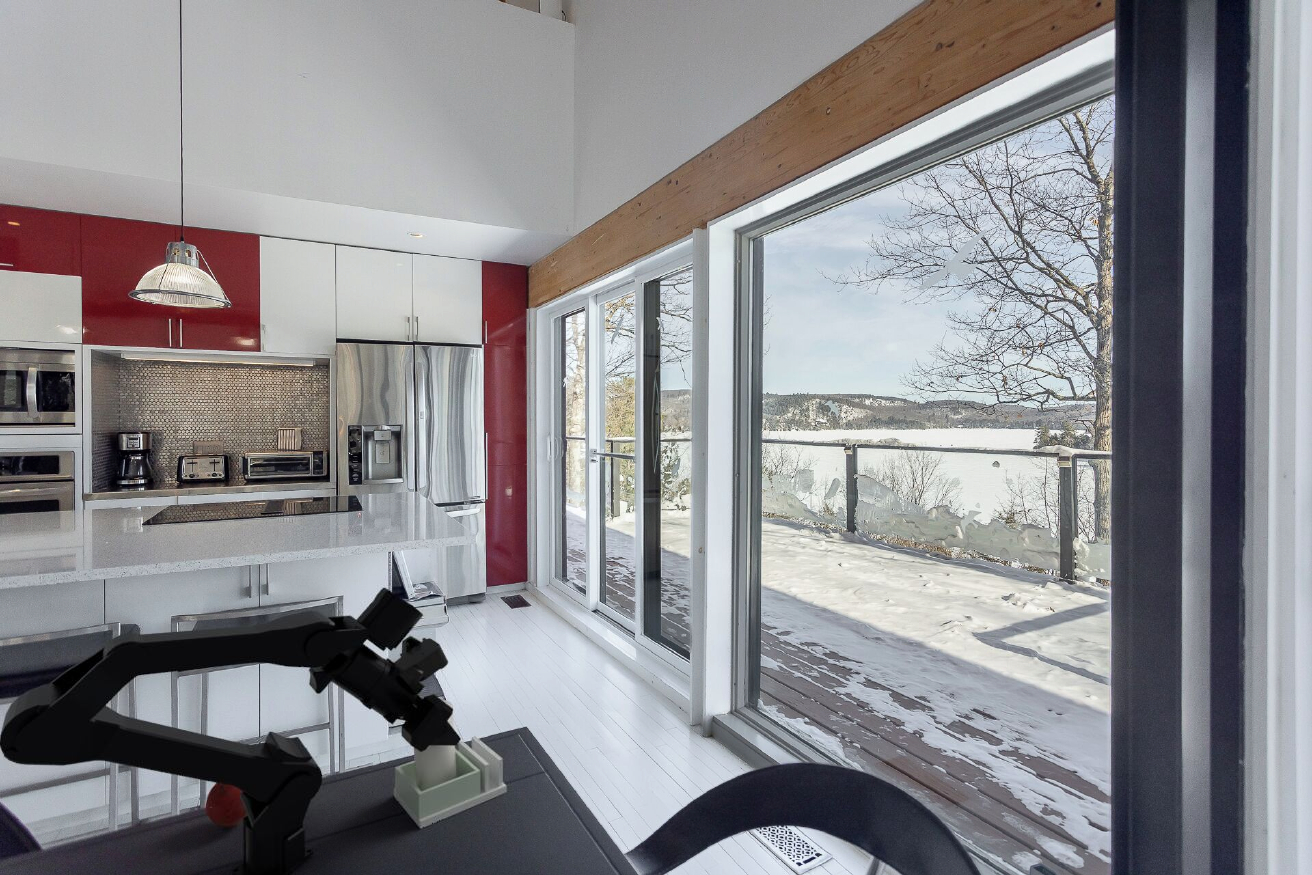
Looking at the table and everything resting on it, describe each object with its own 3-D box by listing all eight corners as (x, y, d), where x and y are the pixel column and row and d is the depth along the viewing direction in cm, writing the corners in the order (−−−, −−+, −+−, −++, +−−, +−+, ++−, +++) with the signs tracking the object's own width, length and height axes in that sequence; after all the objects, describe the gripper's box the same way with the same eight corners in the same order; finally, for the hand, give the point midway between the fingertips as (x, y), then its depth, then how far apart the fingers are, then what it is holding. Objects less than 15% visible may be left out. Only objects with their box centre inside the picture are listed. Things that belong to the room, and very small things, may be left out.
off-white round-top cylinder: (412, 805, 90) (406, 720, 89) (422, 781, 96) (417, 701, 95) (452, 801, 91) (448, 717, 90) (460, 777, 96) (456, 698, 95)
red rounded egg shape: (231, 842, 83) (231, 782, 83) (194, 836, 84) (194, 776, 84) (267, 815, 89) (266, 759, 89) (232, 810, 90) (231, 754, 90)
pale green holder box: (420, 828, 86) (420, 792, 86) (393, 795, 94) (393, 762, 94) (506, 792, 95) (506, 759, 95) (475, 764, 103) (476, 734, 102)
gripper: (438, 644, 83) (513, 703, 91) (387, 611, 97) (456, 665, 104) (375, 722, 78) (460, 778, 85) (331, 676, 92) (408, 727, 99)
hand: (447, 731), depth 94 cm, fingers open, 7 cm apart
